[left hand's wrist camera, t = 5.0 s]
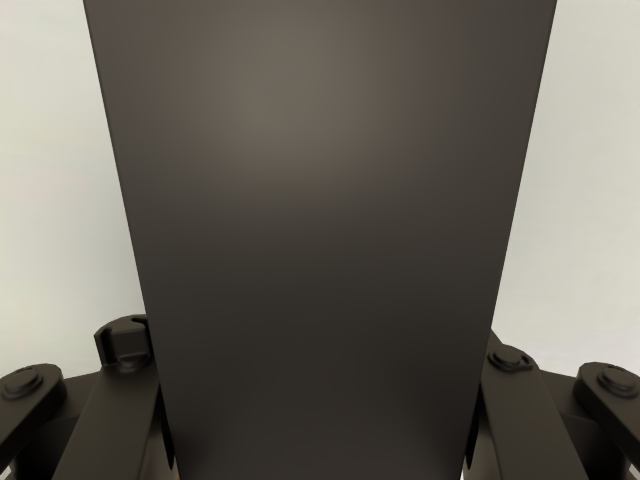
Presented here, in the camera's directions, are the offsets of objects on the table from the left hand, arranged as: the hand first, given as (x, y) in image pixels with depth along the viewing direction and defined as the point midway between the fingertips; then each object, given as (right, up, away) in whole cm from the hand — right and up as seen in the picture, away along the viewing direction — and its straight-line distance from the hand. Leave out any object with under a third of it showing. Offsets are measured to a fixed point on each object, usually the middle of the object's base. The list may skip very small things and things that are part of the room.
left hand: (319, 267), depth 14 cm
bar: (0, +8, -2) cm, 8 cm away
